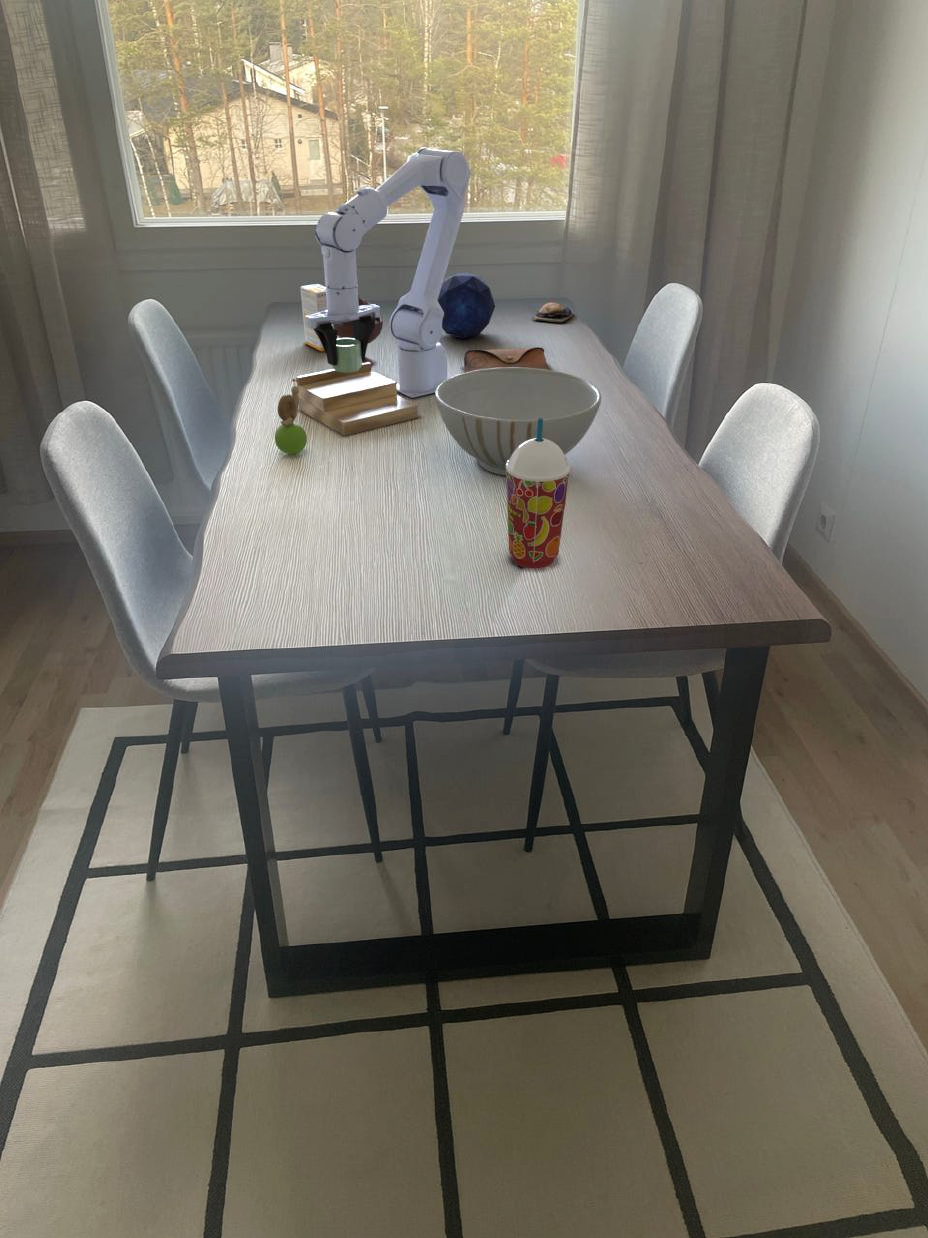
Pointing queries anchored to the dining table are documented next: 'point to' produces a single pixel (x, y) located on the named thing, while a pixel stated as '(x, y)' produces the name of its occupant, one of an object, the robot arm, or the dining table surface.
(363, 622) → the dining table surface
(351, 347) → the green cup
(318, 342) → the supplement box
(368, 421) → the shelf
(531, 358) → the sunglasses case
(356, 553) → the dining table surface
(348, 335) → the ice cream bowl
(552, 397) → the decorative bowl
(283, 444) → the snail figurine
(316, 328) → the robot arm
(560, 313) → the sandwich
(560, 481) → the smoothie
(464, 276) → the decorative orb
